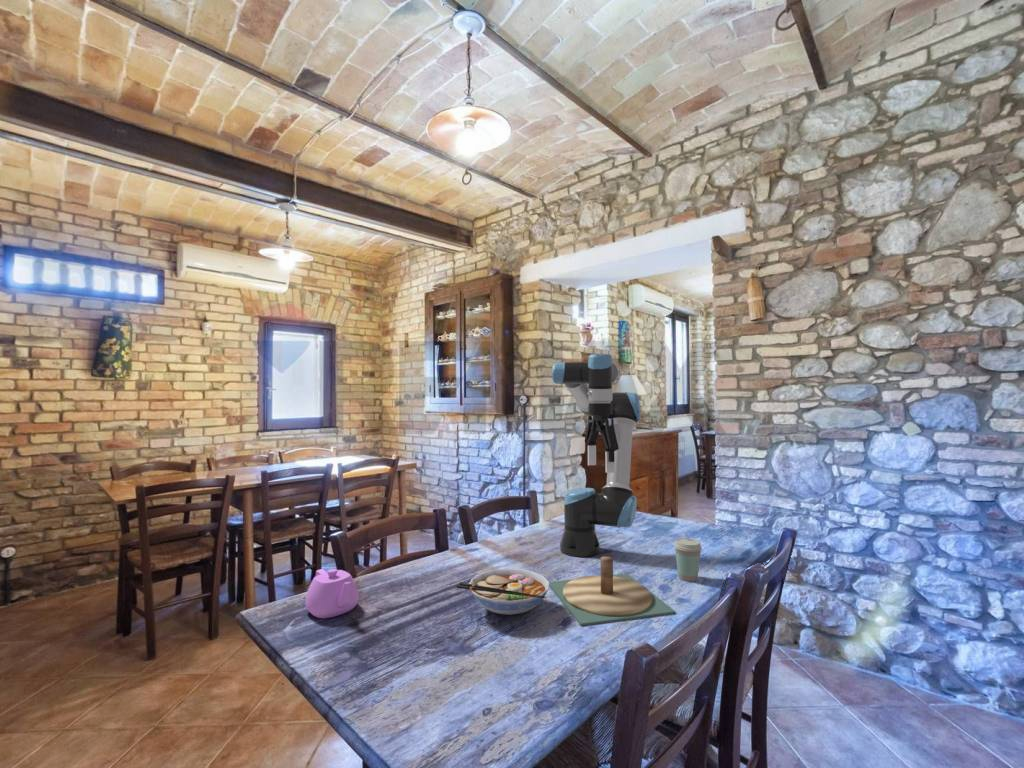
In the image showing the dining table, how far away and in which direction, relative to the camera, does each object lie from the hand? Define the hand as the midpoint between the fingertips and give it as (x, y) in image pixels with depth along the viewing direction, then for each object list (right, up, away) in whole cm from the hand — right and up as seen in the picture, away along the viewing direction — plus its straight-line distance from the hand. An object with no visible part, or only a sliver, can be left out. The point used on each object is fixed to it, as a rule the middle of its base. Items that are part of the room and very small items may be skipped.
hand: (600, 468), depth 156 cm
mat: (0, -36, -11) cm, 38 cm away
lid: (0, -36, -11) cm, 38 cm away
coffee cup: (+29, -37, +3) cm, 47 cm away
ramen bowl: (-29, -37, -19) cm, 50 cm away
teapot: (-79, -37, -19) cm, 89 cm away
